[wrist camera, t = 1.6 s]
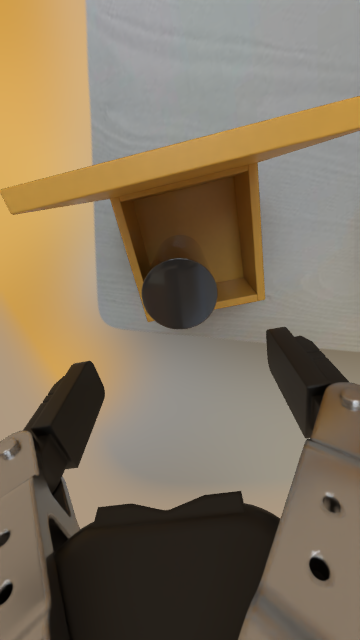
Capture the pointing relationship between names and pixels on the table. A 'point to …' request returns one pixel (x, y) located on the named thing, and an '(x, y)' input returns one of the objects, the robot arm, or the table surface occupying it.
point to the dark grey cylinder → (179, 284)
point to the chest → (201, 229)
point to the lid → (188, 159)
